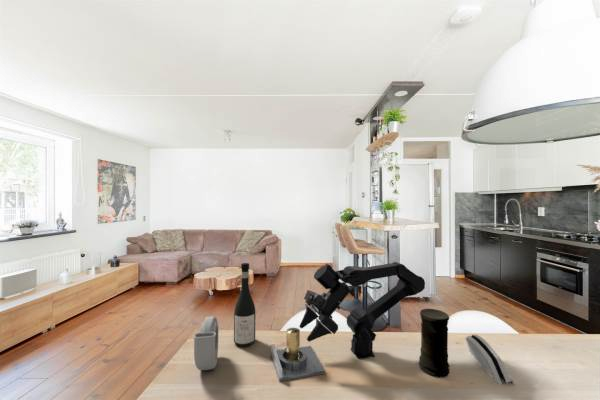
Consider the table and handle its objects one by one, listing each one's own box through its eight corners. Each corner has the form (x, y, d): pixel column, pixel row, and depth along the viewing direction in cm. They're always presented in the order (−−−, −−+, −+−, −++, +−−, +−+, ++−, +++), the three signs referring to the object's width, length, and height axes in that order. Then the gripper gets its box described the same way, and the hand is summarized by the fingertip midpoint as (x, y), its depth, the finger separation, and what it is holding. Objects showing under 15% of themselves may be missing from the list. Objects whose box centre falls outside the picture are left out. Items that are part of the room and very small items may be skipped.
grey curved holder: (202, 352, 97) (203, 310, 97) (221, 351, 98) (222, 309, 98) (192, 384, 80) (192, 333, 80) (215, 382, 81) (215, 331, 81)
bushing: (294, 355, 94) (294, 325, 94) (302, 361, 90) (302, 330, 90) (283, 360, 91) (283, 329, 91) (291, 366, 87) (291, 334, 87)
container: (424, 357, 95) (425, 305, 95) (453, 369, 88) (453, 313, 88) (414, 368, 88) (414, 313, 88) (444, 382, 82) (444, 322, 82)
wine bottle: (255, 347, 101) (255, 265, 101) (233, 348, 100) (233, 266, 100) (255, 336, 109) (255, 260, 109) (234, 337, 108) (235, 261, 108)
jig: (310, 348, 100) (310, 339, 100) (324, 373, 85) (324, 362, 85) (271, 354, 96) (271, 344, 96) (279, 381, 82) (279, 370, 82)
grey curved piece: (516, 385, 80) (504, 352, 81) (500, 389, 81) (487, 357, 81) (485, 354, 97) (475, 327, 97) (471, 357, 98) (461, 330, 98)
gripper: (310, 275, 102) (281, 308, 99) (328, 291, 84) (293, 332, 81) (330, 294, 104) (302, 326, 101) (352, 313, 86) (319, 354, 83)
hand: (303, 333), depth 92 cm, fingers open, 9 cm apart
